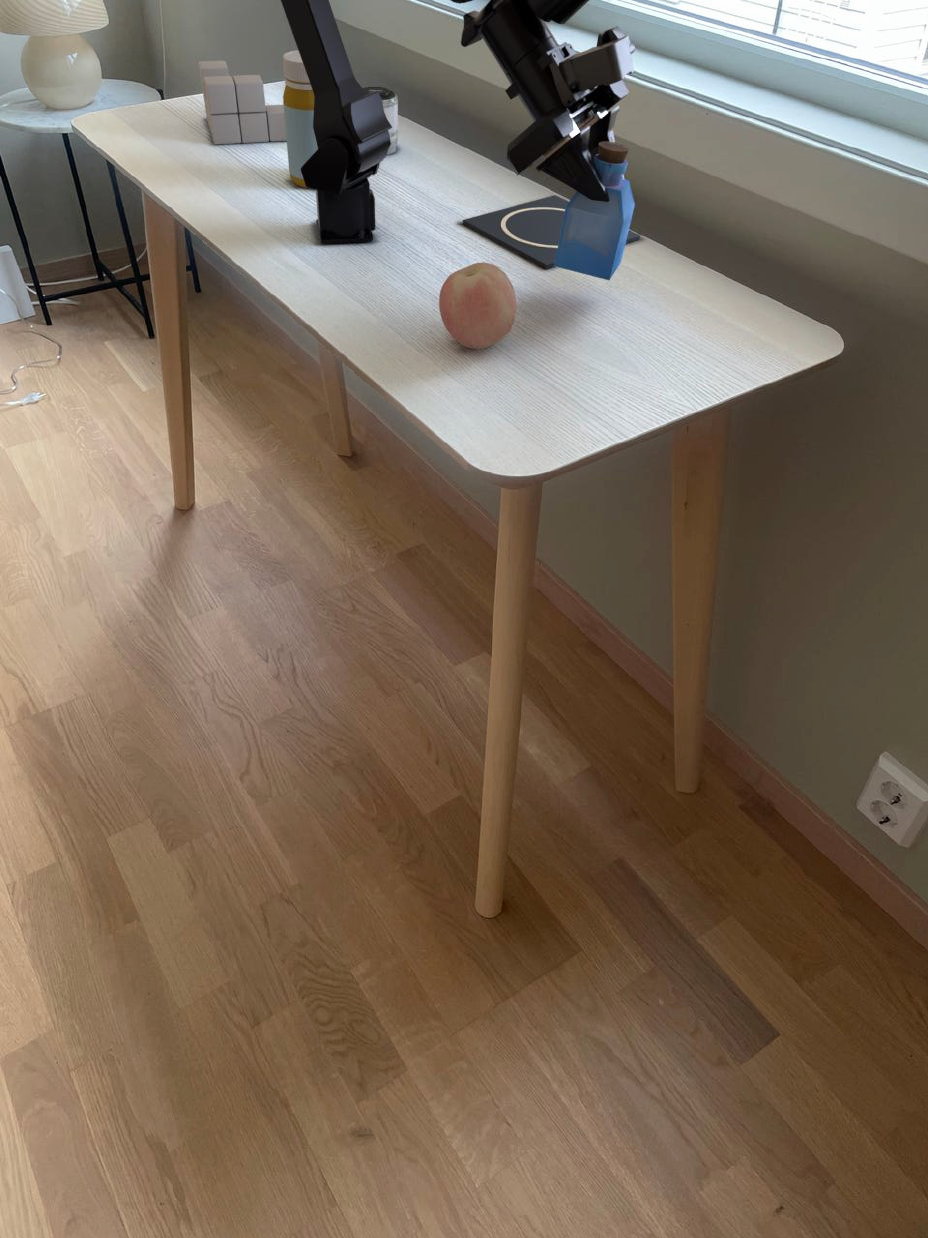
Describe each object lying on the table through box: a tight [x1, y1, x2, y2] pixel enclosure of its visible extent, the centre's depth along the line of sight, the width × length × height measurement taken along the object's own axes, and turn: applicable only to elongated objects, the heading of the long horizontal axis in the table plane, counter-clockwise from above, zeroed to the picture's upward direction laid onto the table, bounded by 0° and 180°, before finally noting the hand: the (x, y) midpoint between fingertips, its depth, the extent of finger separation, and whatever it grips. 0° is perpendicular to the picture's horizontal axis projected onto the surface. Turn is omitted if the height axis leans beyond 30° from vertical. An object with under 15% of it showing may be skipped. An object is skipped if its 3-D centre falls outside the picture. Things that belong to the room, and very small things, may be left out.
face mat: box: [462, 194, 641, 270], centre depth 117 cm, size 16×16×1 cm
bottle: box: [282, 49, 318, 189], centre depth 121 cm, size 7×7×15 cm
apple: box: [438, 261, 517, 350], centre depth 93 cm, size 8×8×8 cm
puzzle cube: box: [198, 60, 287, 145], centre depth 138 cm, size 12×12×8 cm
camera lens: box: [362, 86, 399, 156], centre depth 134 cm, size 6×6×8 cm
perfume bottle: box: [554, 141, 636, 281], centre depth 97 cm, size 6×6×12 cm
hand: (614, 196), depth 96 cm, fingers closed on perfume bottle, 4 cm apart
